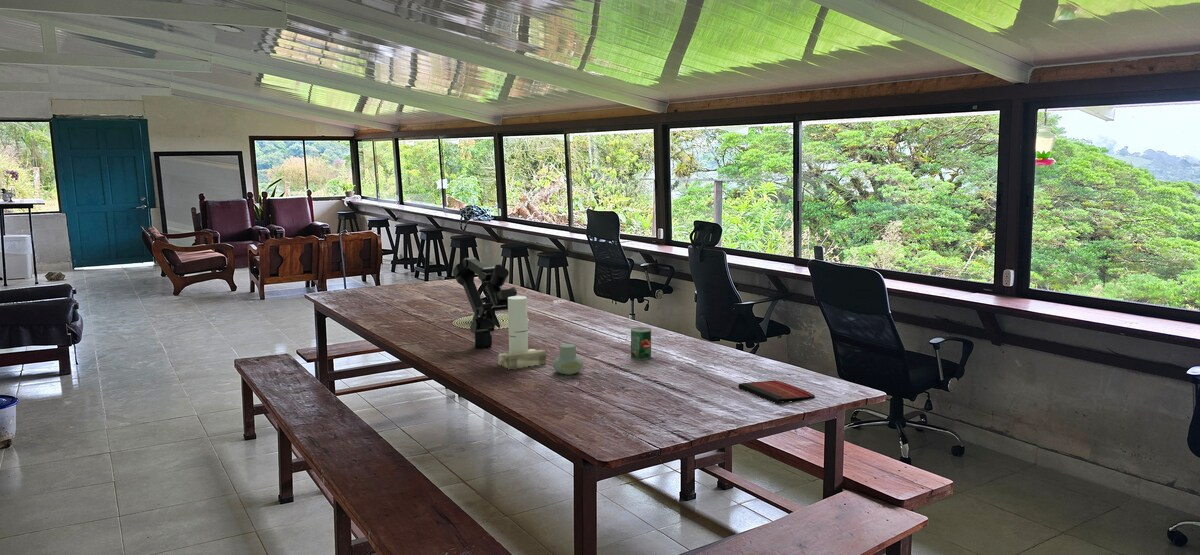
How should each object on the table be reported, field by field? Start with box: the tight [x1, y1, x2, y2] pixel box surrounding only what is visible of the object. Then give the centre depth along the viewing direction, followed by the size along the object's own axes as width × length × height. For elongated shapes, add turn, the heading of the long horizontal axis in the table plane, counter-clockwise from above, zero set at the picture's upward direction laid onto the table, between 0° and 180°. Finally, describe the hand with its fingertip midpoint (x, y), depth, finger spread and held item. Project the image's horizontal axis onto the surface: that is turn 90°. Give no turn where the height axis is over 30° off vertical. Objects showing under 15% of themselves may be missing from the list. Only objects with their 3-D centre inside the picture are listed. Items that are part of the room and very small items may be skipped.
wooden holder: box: [497, 348, 547, 370], centre depth 308 cm, size 10×15×5 cm, turn 123°
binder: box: [738, 380, 816, 405], centre depth 269 cm, size 16×2×21 cm
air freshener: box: [552, 343, 584, 376], centre depth 295 cm, size 11×8×10 cm
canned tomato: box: [630, 326, 652, 360], centre depth 316 cm, size 8×8×11 cm
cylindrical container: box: [507, 295, 529, 354], centre depth 308 cm, size 7×7×25 cm
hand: (510, 325), depth 314 cm, fingers open, 9 cm apart
